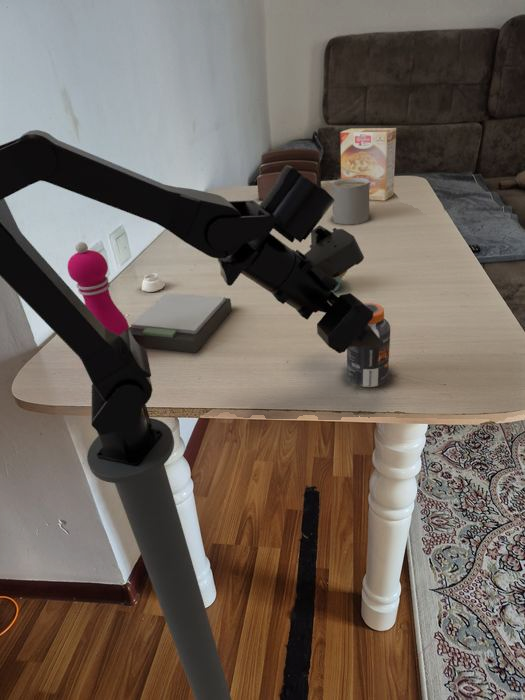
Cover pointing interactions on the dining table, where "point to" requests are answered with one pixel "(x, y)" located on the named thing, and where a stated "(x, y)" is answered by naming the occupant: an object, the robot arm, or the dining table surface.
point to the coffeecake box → (370, 158)
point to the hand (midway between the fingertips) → (361, 327)
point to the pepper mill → (96, 287)
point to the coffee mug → (350, 200)
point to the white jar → (152, 283)
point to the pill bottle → (371, 354)
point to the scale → (180, 321)
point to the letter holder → (296, 158)
